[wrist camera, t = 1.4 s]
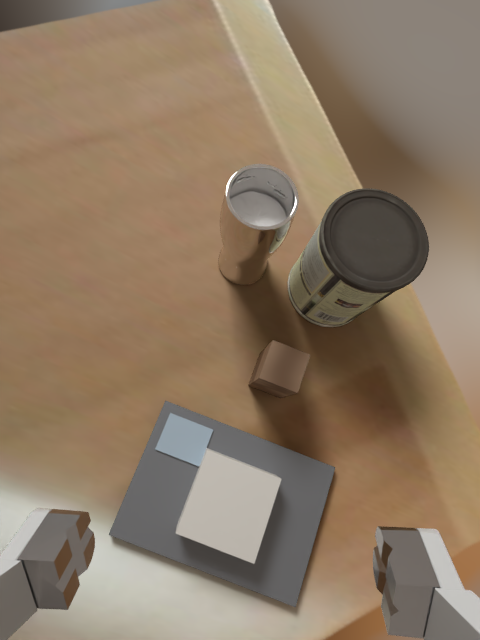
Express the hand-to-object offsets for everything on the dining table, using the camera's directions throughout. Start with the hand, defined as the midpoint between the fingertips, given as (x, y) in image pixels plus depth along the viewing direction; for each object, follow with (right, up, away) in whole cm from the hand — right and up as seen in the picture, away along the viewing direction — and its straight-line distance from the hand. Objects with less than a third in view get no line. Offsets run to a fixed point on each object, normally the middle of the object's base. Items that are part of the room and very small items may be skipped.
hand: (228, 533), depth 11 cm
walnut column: (+4, -1, +35) cm, 35 cm away
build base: (-1, -13, +31) cm, 34 cm away
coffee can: (+11, +10, +39) cm, 41 cm away
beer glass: (+1, +13, +38) cm, 40 cm away
